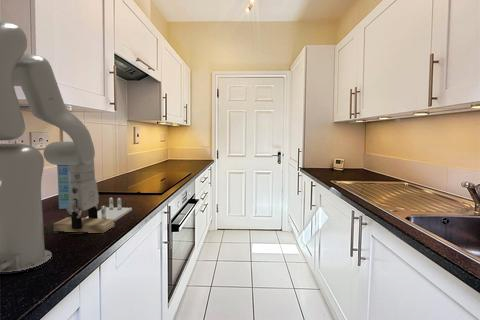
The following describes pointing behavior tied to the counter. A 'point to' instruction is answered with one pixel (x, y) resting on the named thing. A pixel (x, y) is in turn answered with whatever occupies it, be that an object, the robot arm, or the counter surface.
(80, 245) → the counter surface
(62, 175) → the light blue carton
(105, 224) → the oak shelf board
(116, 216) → the peg stand
